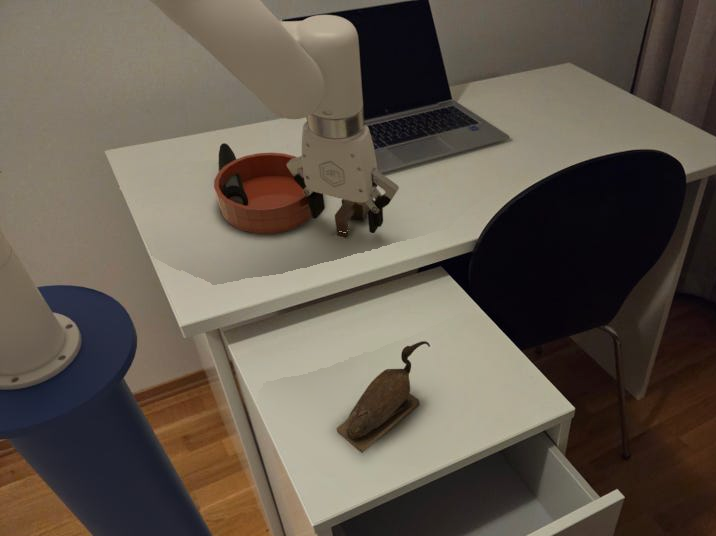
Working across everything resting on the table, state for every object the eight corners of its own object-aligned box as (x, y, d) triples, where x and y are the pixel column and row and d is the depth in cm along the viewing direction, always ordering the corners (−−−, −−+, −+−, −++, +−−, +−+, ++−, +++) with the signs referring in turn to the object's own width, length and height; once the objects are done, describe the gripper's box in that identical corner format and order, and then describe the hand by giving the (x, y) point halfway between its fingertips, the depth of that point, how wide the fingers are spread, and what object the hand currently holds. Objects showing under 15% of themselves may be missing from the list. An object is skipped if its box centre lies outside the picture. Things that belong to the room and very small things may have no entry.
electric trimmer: (239, 157, 111) (235, 140, 109) (250, 208, 102) (245, 191, 99) (216, 160, 110) (212, 143, 108) (225, 212, 101) (220, 195, 98)
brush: (352, 239, 99) (350, 218, 96) (331, 234, 99) (328, 213, 96) (373, 209, 104) (372, 188, 101) (353, 203, 105) (351, 183, 102)
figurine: (416, 366, 83) (416, 320, 77) (441, 384, 82) (443, 339, 75) (335, 432, 76) (327, 388, 69) (362, 454, 74) (356, 410, 68)
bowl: (201, 219, 99) (193, 195, 96) (252, 168, 109) (246, 144, 106) (291, 243, 97) (287, 219, 94) (335, 188, 107) (332, 165, 104)
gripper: (263, 117, 85) (284, 221, 98) (385, 146, 83) (389, 248, 96) (290, 92, 90) (307, 194, 103) (405, 118, 87) (407, 220, 100)
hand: (346, 220), depth 99 cm, fingers open, 9 cm apart
